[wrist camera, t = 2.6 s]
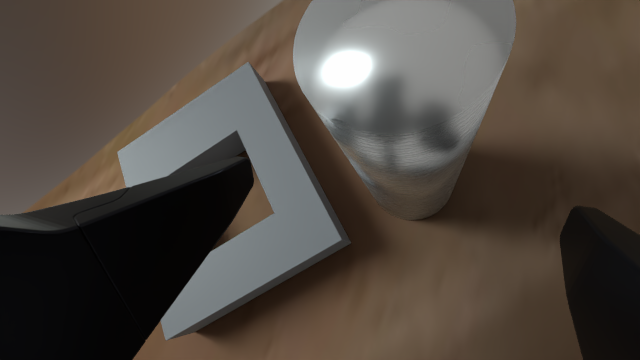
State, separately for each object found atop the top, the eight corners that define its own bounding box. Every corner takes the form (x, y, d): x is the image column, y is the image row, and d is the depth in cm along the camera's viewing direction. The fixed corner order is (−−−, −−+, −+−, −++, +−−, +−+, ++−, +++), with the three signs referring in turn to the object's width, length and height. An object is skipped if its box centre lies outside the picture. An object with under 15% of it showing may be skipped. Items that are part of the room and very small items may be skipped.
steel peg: (471, 193, 18) (575, 41, 6) (396, 235, 18) (352, 175, 6) (423, 129, 20) (427, -89, 8) (357, 169, 20) (264, 26, 8)
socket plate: (351, 243, 19) (341, 239, 17) (194, 332, 21) (165, 340, 18) (264, 81, 24) (248, 61, 22) (144, 162, 26) (117, 152, 23)
